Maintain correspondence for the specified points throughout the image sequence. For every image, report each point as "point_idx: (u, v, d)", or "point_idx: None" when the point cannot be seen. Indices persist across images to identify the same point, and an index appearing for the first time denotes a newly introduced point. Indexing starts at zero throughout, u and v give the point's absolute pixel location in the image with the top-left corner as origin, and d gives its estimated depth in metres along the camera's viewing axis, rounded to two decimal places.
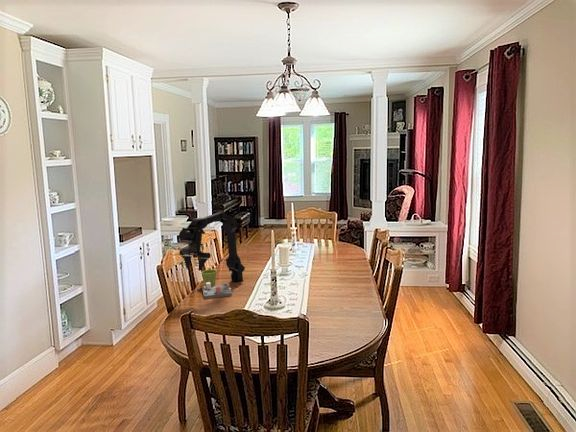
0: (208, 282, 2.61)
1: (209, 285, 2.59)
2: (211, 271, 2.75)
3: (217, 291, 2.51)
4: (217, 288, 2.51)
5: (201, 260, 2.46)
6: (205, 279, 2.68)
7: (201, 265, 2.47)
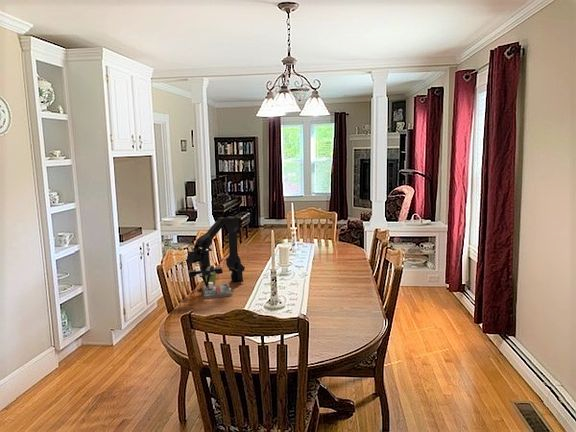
0: (211, 282, 2.62)
1: (212, 285, 2.59)
2: None
3: (217, 291, 2.51)
4: (217, 288, 2.51)
5: (209, 276, 2.59)
6: None
7: (208, 281, 2.60)
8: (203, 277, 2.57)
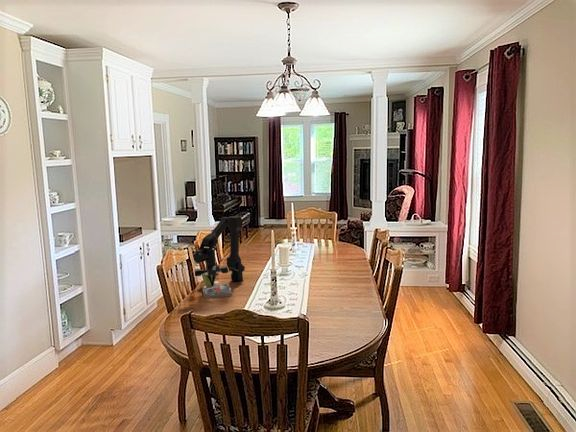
0: (216, 281, 2.62)
1: (217, 284, 2.60)
2: None
3: (217, 291, 2.51)
4: (217, 288, 2.51)
5: None
6: (205, 279, 2.68)
7: None
8: (209, 276, 2.57)
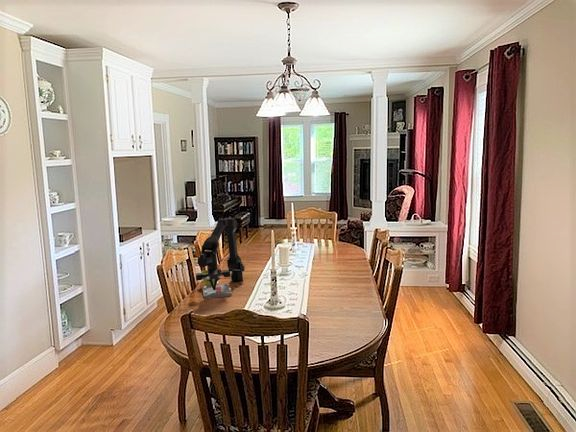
0: None
1: (217, 284, 2.60)
2: None
3: (218, 291, 2.51)
4: (218, 288, 2.51)
5: None
6: (205, 279, 2.68)
7: None
8: (210, 280, 2.49)
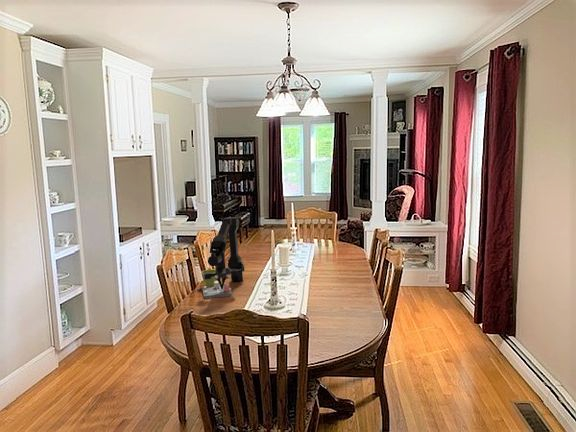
0: (216, 281, 2.62)
1: (217, 284, 2.60)
2: (211, 271, 2.75)
3: (225, 290, 2.52)
4: (225, 287, 2.52)
5: None
6: None
7: (223, 283, 2.53)
8: (218, 279, 2.50)
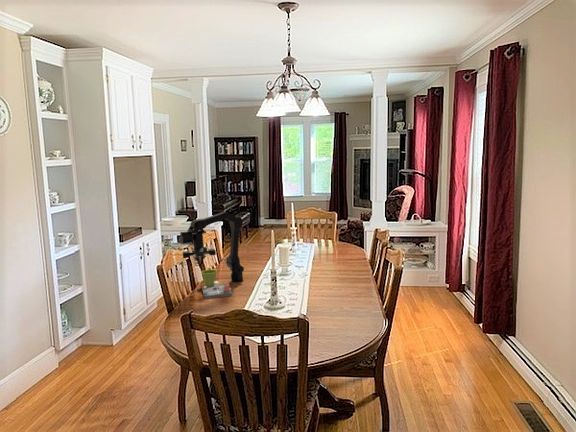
0: (216, 281, 2.62)
1: (217, 284, 2.60)
2: (211, 271, 2.75)
3: (225, 290, 2.52)
4: (225, 287, 2.52)
5: None
6: (205, 279, 2.68)
7: None
8: (197, 258, 2.61)
